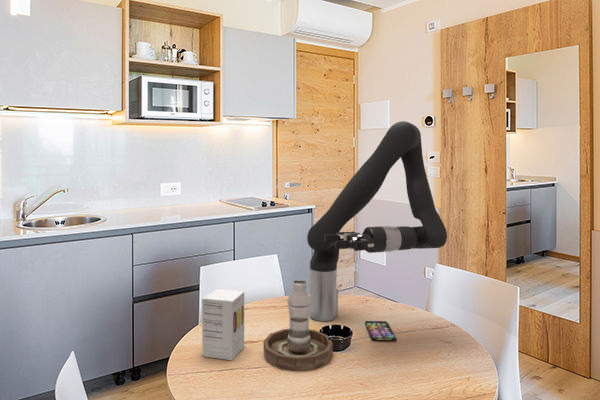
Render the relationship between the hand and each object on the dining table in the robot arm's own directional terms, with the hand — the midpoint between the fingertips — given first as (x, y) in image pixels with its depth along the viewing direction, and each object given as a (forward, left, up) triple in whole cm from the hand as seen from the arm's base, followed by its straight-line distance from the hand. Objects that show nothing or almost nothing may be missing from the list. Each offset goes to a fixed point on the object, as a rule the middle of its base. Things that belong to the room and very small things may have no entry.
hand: (330, 241), depth 121 cm
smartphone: (-22, +2, -33) cm, 39 cm away
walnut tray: (+8, -4, -32) cm, 33 cm away
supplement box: (+23, -19, -32) cm, 44 cm away
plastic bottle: (+8, -4, -31) cm, 32 cm away
